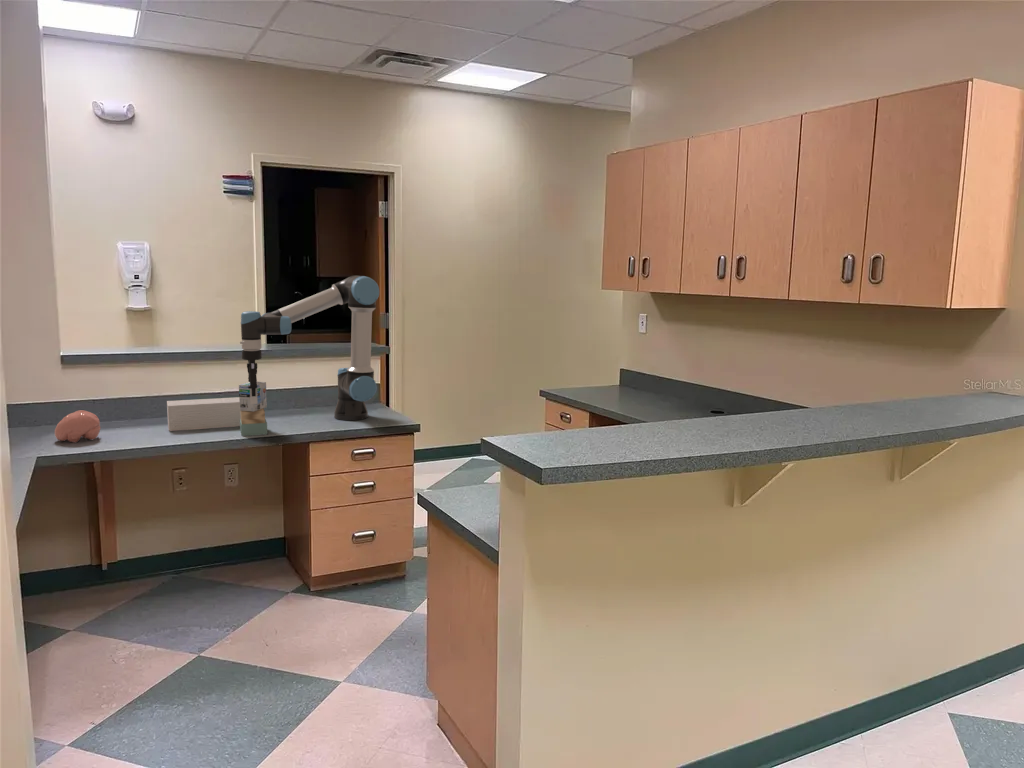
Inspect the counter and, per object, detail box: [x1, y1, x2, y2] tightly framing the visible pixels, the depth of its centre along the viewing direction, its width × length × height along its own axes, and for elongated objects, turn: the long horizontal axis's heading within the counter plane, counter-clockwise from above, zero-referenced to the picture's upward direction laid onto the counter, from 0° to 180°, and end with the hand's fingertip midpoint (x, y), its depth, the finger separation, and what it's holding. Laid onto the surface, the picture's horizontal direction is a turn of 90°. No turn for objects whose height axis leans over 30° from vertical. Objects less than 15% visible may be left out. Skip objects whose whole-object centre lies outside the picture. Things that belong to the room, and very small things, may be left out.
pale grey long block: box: [166, 396, 241, 432], centre depth 314 cm, size 32×11×11 cm, turn 116°
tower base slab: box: [239, 418, 268, 437], centre depth 305 cm, size 10×10×5 cm
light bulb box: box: [238, 381, 268, 412], centre depth 303 cm, size 11×7×11 cm, turn 170°
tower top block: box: [241, 408, 266, 424], centre depth 304 cm, size 9×9×5 cm
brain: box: [54, 409, 101, 443], centre depth 284 cm, size 16×13×12 cm
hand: (253, 400), depth 303 cm, fingers open, 13 cm apart
